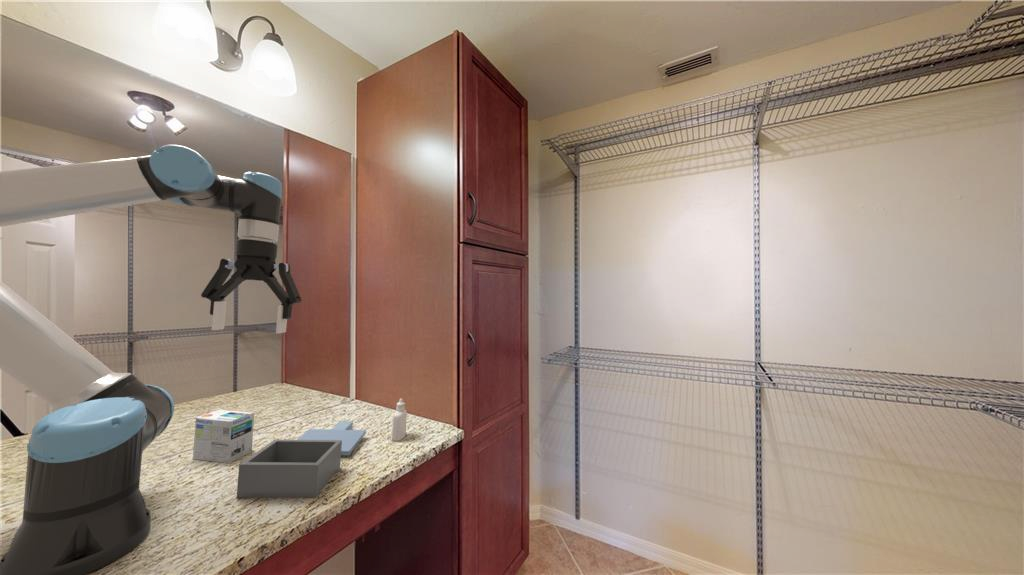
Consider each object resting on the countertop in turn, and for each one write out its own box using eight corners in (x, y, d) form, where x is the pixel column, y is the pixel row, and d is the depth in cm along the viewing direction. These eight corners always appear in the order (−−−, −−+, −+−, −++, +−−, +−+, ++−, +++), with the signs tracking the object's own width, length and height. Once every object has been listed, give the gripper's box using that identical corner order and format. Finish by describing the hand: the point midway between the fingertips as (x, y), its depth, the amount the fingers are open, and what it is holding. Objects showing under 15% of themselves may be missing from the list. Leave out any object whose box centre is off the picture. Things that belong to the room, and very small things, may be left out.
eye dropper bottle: (386, 438, 100) (388, 399, 100) (401, 432, 104) (404, 395, 105) (395, 442, 97) (397, 402, 98) (410, 436, 102) (412, 398, 102)
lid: (283, 460, 85) (283, 450, 85) (319, 428, 104) (319, 420, 104) (348, 460, 87) (349, 451, 87) (372, 429, 105) (372, 421, 105)
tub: (236, 498, 69) (239, 464, 69) (272, 467, 80) (275, 439, 81) (315, 497, 70) (318, 464, 70) (340, 468, 82) (341, 440, 82)
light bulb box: (253, 451, 88) (256, 411, 88) (229, 464, 81) (232, 421, 81) (217, 447, 89) (220, 408, 89) (190, 460, 82) (194, 417, 82)
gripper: (321, 247, 81) (314, 332, 81) (213, 239, 79) (204, 326, 78) (306, 242, 74) (297, 335, 73) (185, 233, 71) (175, 330, 70)
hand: (249, 331), depth 75 cm, fingers open, 13 cm apart
